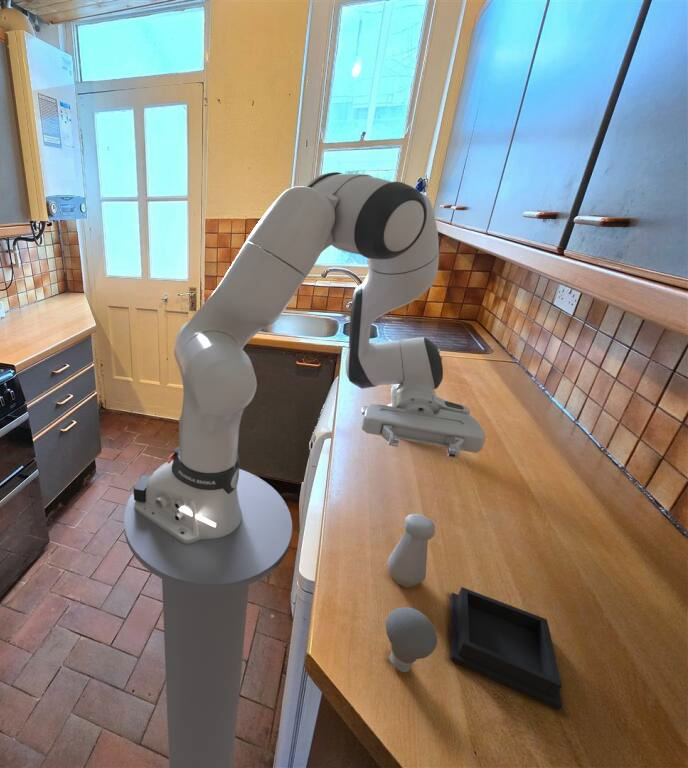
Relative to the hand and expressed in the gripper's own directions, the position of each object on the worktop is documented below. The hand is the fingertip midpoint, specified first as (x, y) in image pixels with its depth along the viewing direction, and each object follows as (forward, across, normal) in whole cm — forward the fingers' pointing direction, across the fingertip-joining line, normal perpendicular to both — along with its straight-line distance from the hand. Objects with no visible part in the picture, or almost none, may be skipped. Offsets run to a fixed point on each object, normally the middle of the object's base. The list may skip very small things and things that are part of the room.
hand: (423, 448), depth 72 cm
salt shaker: (+12, 0, +20) cm, 23 cm away
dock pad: (+20, +12, +19) cm, 30 cm away
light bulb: (+28, -2, +19) cm, 35 cm away
